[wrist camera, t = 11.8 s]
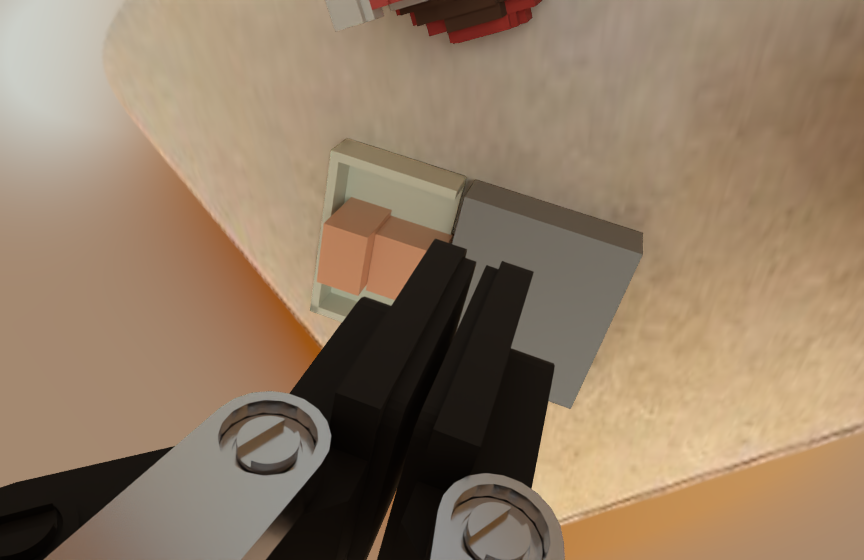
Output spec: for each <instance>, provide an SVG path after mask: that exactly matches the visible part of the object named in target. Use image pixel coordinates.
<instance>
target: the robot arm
mask: <svg viewBox="0 0 864 560" xmlns="http://www.w3.org/2000/svg"><path fill="white" fill-rule="evenodd" d="M466 254H467V249H465V248H462V247H459V246H456V245H453V244H450V243H447V242H444V241H442V240H439V239H434V241H433V242H432V243H431V245H430V247H429V248H428V250H427V251H426V253H425V254H424V256H423V257H422V259H421V261H420V262H419V264H418V265H417V267H416V268H415V270H414V271H413V273H412V274H411V276H410V278H409V279H408V281H407V282H406V284H405V285H404V287H403V288H402V290H401V291H400V293H399V295H398V296H397V298H396V299H395V301H394V302H393V304H392V305H388V304H385V303H382V302H379V301H376V300H374V299H371V298H368V297H365V296H364V297H361V298H360V300H359V301H358V302H357V303H356V304H355V306H354V307H353V308H352V310H351V311H350V312H349V314H348V315H347V316H346V318H345V319H344V321H343V322H342V323H341V325H340V326H339V327H338V329H337V330H336V331H335V333H334V334H333V335H332V337H331V338H330V339H329V341H328V342H327V343H326V345H325V346H324V348H323V349H322V350H321V352H320V353H319V354H318V356H317V357H316V358H315V360H314V361H313V362H312V364H311V365H310V366H309V368H308V369H307V371H306V372H305V373H304V375H303V376H302V377H301V379H300V380H299V381H298V383H297V384H296V385H295V387H294V388H293V389H292V391H291V392H290V393H289V394H288V393H281V392H274V391H273V392H272V391H266V392H255V393H250V394H247V395H244V396H241V397H238V398H235V399H233V400H231V401H230V402H228V403H227V404H225V405H224V406H222V407H221V408H219V409H218V410H217V411H216V412H215V413H213V414H212V415H211V416H210V417H209V418H207V419H206V420H205V421H204V422H203V423H202V424H201V425H200V426H198V427H197V428H196V429H195V430H194V431H192V432H191V433H190V434H189V435H188V436H187V437H185V438H184V439H183V440H182V441H181V442H180V443H179V444H177V445H176V446H174V447H169V448H165V449H160V450H156V451H152V452H147V453H143V454H139V455H134V456H130V457H125V458H121V459H117V460H112V461H108V462H103V463H99V464H95V465H91V466H86V467H82V468H77V469H73V470H69V471H64V472H60V473H56V474H51V475H46V476H42V477H38V478H33V479H29V480H25V481H20V482H16V483H13V484H10V485H7V486H4V487H1V488H0V560H366V559H367V557H368V555H369V552H370V550H371V548H372V546H373V543H374V541H375V538H376V536H377V534H378V531H379V529H380V527H381V525H382V522H383V520H384V517H385V515H386V513H387V510H388V508H389V506H390V504H391V501H392V499H393V496H394V494H395V492H396V495H395V498H394V501H393V505H392V509H391V512H390V516H389V519H388V523H387V527H386V530H385V534H384V537H383V541H382V544H381V548H380V551H379V555H378V559H377V560H565V556H564V541H563V536H562V531H561V527H560V524H559V522H558V520H557V518H556V516H555V514H554V513H553V511H552V509H551V507H550V506H549V505H548V504H547V503H546V502H545V501H544V500H543V499H542V498H541V497H540V495H539V494H538V493H536V492H535V491H533V490H532V489H531V488H532V483H533V478H534V473H535V468H536V462H537V457H538V452H539V447H540V442H541V436H542V431H543V426H544V421H545V416H546V411H547V405H548V400H549V395H550V390H551V385H552V380H553V374H554V368H555V365H554V363H551V362H549V361H546V360H543V359H540V358H537V357H534V356H532V355H529V354H526V353H523V352H520V351H518V350H515V349H512V348H511V346H512V342H513V339H514V336H515V332H516V329H517V326H518V323H519V319H520V316H521V313H522V309H523V306H524V303H525V300H526V296H527V293H528V290H529V286H530V283H531V280H532V277H533V273H534V271H531V270H528V269H525V268H522V267H519V266H516V265H513V264H510V263H507V262H504V261H502V262H501V264H500V267H499V269H497V268H494V267H491V266H488V265H486V267H485V269H484V271H483V273H482V276H481V278H480V280H479V282H478V285H477V287H476V289H475V291H474V294H473V296H472V298H471V300H470V302H469V305H468V307H467V309H466V311H465V314H464V316H463V318H462V320H461V323H460V325H459V327H458V324H459V321H460V317H461V314H462V311H463V307H464V304H465V301H466V297H467V294H468V291H469V287H470V284H471V281H472V277H473V274H474V270H475V267H476V261H473V260H470V259H467V258H466ZM457 327H458V329H457ZM456 331H457V332H456ZM396 490H397V491H396Z"/></svg>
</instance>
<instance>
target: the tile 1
mask: <svg viewBox="0 0 864 560" xmlns="http://www.w3.org/2000/svg"><path fill="white" fill-rule="evenodd" d="M391 212H392V210H390V209H387V208H384V207H381V206H378V205H375V204H372V203H369V202H366V201H362V200H359V199H356V198H353V197H351V198H350V199H349V200H348V201H347V202H345V203H344V204H343V205H342V206H341V207H340V208H339V209H338V210H337V211H336V212H335V213H334V214H333V215H332V216H331V217H330V218H329V219H328V220H327V221H326V222H325V223H324V225H323V234H322V242H321V250H320V258H319V267H318V275H317V282H319V283H322V284H325V285H327V286H330V287H333V288H336V289H339V290H342V291H345V292H348V293H351V294H354V295H357V296H359V294H360V293H361V292H362V290H363V289H364V288H365V286H366V285H367V280H368V275H369V269H370V263H371V257H372V252H373V246H374V240H375V234H376V233H377V232H378V230H379V229H380V228H381V227H382V226H383V225H384V223H385V222H386V221H387V220H388V219H389V217H390V216H391Z"/></svg>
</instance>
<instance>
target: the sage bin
mask: <svg viewBox="0 0 864 560" xmlns="http://www.w3.org/2000/svg"><path fill="white" fill-rule="evenodd" d="M466 178H467V177H466V176H463V175H460V174H457V173H454V172H451V171H448V170H445V169H442V168H438V167H435V166H432V165H429V164H426V163H423V162H420V161H417V160H414V159H410V158H407V157H404V156H401V155H398V154H395V153H392V152H389V151H386V150H382V149H379V148H376V147H373V146H370V145H367V144H364V143H361V142H357V141H354V140H351V139H348V138H347V139H345V140H344V141H343V142H341V143H340V144H339V145H337V146H336V147H335V148H333V149H332V150H331V154H330V162H329V169H328V177H327V185H326V192H325V200H324V207H323V215H322V223H321V230H320V238H319V245H318V253H317V261H316V268H315V276H314V283H313V291H312V299H311V306H310V311H312V312H315V313H317V314H320V315H323V316H326V317H328V318H331V319H334V320H337V321H340V322H343V321H344V319H345V318H346V316H347V315H348V314H349V312H350V311H351V310H352V308H353V307H354V306H355V304H356V303H357V302H358V301H359V300H360V298H361V297H364V296H365V297H368V298H371V299H374V300H376V301H379V302H382V303H385V304H388V305H392V304H393V302H394V301H395V300H393V299H390V298H387V297H384V296H381V295H378V294H375V293H372V292H369V291H366V286H367V285H366V286H365V288H364V289H363V290H362V292H361V293H360V294H359V296H357V295H354V294H351V293H348V292H345V291H342V290H339V289H336V288H333V287H330V286H327V285H325V284H322V283H319V282H317V275H318V267H319V258H320V250H321V242H322V234H323V225H324V223H325V222H326V221H327V220H328V219H329V218H330V217H331V216H332V215H333V214H334V213H335V212H336V211H337V210H338V209H339V208H340V207H341V206H342V205H343V204H344V203H345V202H347V201H348V200H349V199H350V198H351V197H353V198H356V199H359V200H362V201H366V202H369V203H372V204H375V205H378V206H381V207H384V208H387V209H390V210H392V212H391V216H394V217H397V218H400V219H403V220H406V221H409V222H412V223H416V224H419V225H422V226H425V227H428V228H431V229H434V230H437V231H440V232H443V233H446V234H450V235H451V234H452V231H453V227H454V223H455V219H456V216H457V212H458V208H459V204H460V200H461V197H462V193H463V189H464V185H465V182H466Z"/></svg>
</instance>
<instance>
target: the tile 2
mask: <svg viewBox="0 0 864 560" xmlns="http://www.w3.org/2000/svg"><path fill="white" fill-rule="evenodd" d="M452 237H453V235H450V234H446V233H443V232H440V231H437V230H434V229H431V228H428V227H425V226H422V225H419V224H416V223H412V222H409V221H406V220H403V219H400V218H397V217H394V216H390V217H389V219H388V220H387V221H386V222H385V223H384V225H383V226H382V227H381V228H380V229H379V230H378V232H377V233H376V234H375V240H374V246H373V252H372V257H371V263H370V269H369V275H368V280H367V286H366V291H369V292H372V293H375V294H378V295H381V296H384V297H387V298H390V299H393V300H395V299H396V298H397V296H398V295H399V293H400V291H401V290H402V288H403V287H404V285H405V284H406V282H407V281H408V279H409V278H410V276H411V274H412V273H413V271H414V270H415V268H416V267H417V265H418V264H419V262H420V261H421V259H422V257H423V256H424V254H425V253H426V251H427V250H428V248H429V247H430V245H431V243H432V242H433V241H434V239H439V240H442V241H444V242H447V243H450V244H451V241H452Z"/></svg>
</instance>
